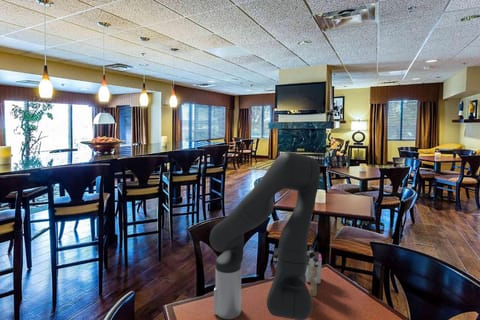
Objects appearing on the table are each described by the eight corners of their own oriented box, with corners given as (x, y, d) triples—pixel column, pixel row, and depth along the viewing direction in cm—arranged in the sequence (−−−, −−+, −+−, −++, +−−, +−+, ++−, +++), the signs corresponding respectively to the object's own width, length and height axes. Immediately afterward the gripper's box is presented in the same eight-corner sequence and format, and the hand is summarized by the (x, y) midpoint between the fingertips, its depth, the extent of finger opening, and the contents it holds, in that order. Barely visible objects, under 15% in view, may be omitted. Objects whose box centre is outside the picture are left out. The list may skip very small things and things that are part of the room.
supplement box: (320, 284, 129) (321, 259, 128) (306, 283, 130) (307, 258, 129) (320, 278, 135) (321, 253, 133) (306, 276, 136) (307, 252, 135)
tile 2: (310, 295, 121) (311, 259, 120) (310, 287, 127) (311, 253, 125) (316, 296, 121) (317, 260, 119) (316, 288, 127) (317, 253, 125)
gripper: (319, 260, 86) (319, 239, 101) (269, 255, 89) (276, 235, 105) (319, 285, 87) (318, 260, 102) (269, 279, 90) (276, 256, 106)
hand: (297, 248), depth 104 cm, fingers open, 8 cm apart
